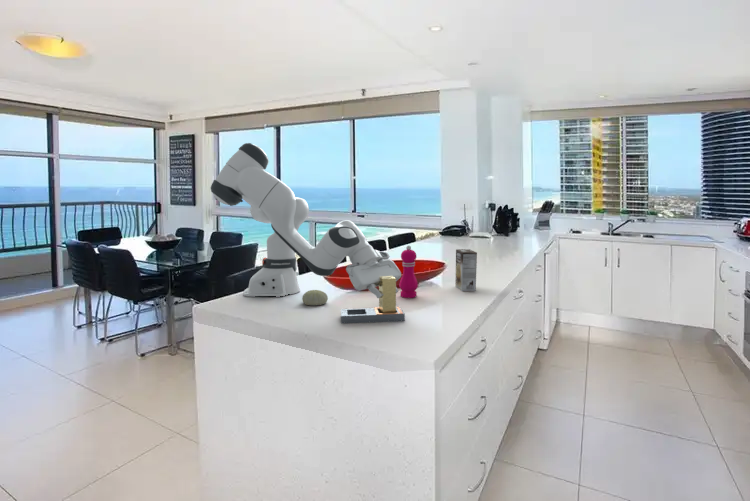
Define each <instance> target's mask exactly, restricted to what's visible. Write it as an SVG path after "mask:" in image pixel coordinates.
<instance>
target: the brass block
mask: <svg viewBox="0 0 750 501" xmlns="http://www.w3.org/2000/svg"><path fill="white" fill-rule="evenodd" d="M396 287H397V281H396V278H395V277H393V276H381V277H380V282H379V286H378V290H379V291H382V293H383V296H382V298H378V301H379V302H378V307H379V313H396V307H397V293H396Z"/></svg>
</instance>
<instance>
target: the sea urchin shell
mask: <svg viewBox="0 0 750 501" xmlns="http://www.w3.org/2000/svg"><path fill="white" fill-rule="evenodd" d="M328 299H329V296H328V294H327V293H326V292H324V291H322V290H319V289H312V290H308V291H305V292H304V294H303V295H302V298H301V300H302V302H303V304H304V305H306V306H323V305H324V304H326V303H327V302H328V301H329V300H328Z"/></svg>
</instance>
